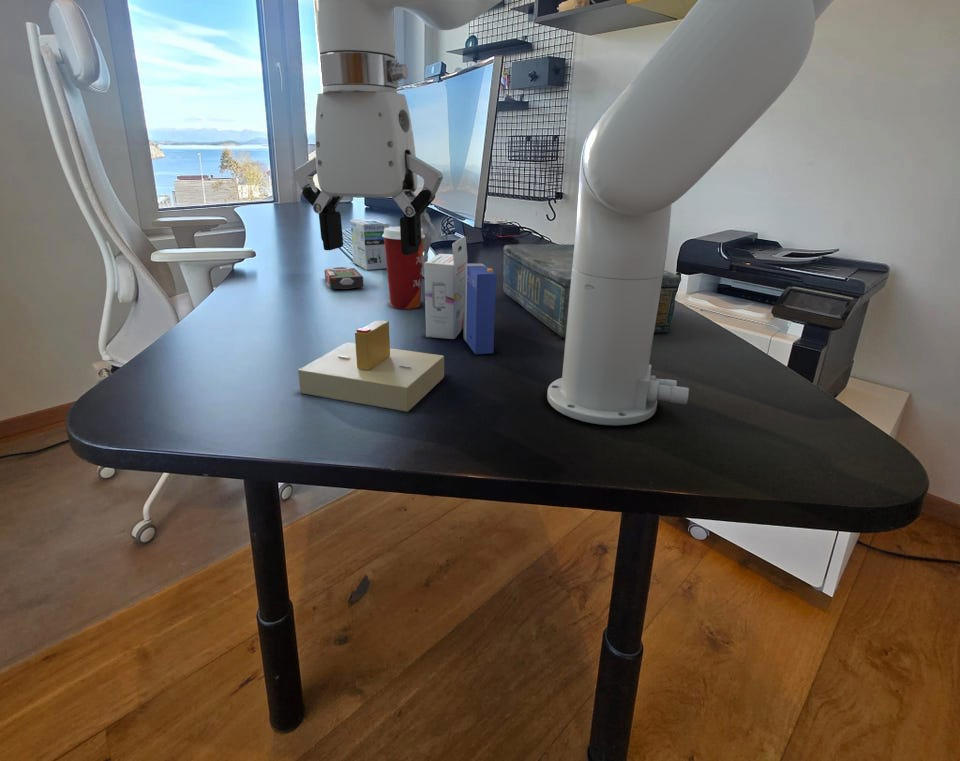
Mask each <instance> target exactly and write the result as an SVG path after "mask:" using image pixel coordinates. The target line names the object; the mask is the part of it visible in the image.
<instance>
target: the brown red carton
mask: <svg viewBox="0 0 960 761" xmlns="http://www.w3.org/2000/svg"><path fill="white" fill-rule="evenodd" d="M324 279H325V281H326V285H327V287H328V288H329V289H331V290H334V289H335V290H336V289H339V290H353V289H355V288H365V287H364V276H363V275H362V274H361V273H360V271H358V270H357V269H356V268H355V267H350V266H333V267H329V268H328V269H327V268H325V269H324Z"/></svg>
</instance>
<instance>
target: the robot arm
mask: <svg viewBox="0 0 960 761" xmlns="http://www.w3.org/2000/svg"><path fill="white" fill-rule="evenodd" d="M503 1H504V0H312V2H313V13H314V14H313V15H314V23H315V34H316V44H317V54H318V64H319V76H320V86H321V93H317V95H316V103H315V114H314V152H315V153H314V154H315V155H314V157H312V158H311V159H309V160H308V161H306V162H305V163H303V164H302V165H300V166H299V167H297V168H296V169H295V170H293V176H294V179H295V180H296V182H297V184H298V186H299V188H300V189H301V190H302V196H303V197H304V199H305V200H306V201H307V202H308V203H309V204H310V205H311V207H312V210H313V212H314V213H315V214H318V220H319V230H320V239H321V241H322V247H323V250H324V251H332V250H333V251H334V250H336V249H340V248H342V247H343V246H344V235H343V226H342V224H343V223H342V215H341V212H340V211H338V210H337V211H336V208H337V207H338V205H339V203H340V202H341V200H342V199H343V198H344V197H349V198H392V199H393V200H394V203H396V204H397V206H398V207H399V208H400V210H401V211H402V212H403V216H400V218H399V227H400V234H401V252H402V254H403V255H410V254H413V253H416V252H418V250H419V246H420V245H421V214H423V213H424V211H425V209H426V210H427V208H428V207H429V206H430V205H431V204H432V203H433V201H434V200H435V199H436V193H437V192H438V190H439V188H440V185H441V183H442V181H443V178H444V175H443V172H441V171H440V170H439V169H437V168H435V167H433V166H432V165H430V164H429V163H427V162H425V161H424V160H422V159H420V158H419V157H417V155H416V154H417V153H416V146H415V139H414V133H413V132H414V131H413V126H412V121H411V115H410V110H409V106H408V101H407V98H406V95H405V94H404V93H399V92H398V89H399V88H400V87H399V86H400V85H399V82H400V81H401V80H407V79H408V78H409V67H408V64H406V63H400V62H398V58H396V41H395V20H394V19H395V18H394V9H395V8H399V9H401V10H404V11H406V12H408V13H410V14H412V15H414V16H415V17H416V18H417V19H418V20H419V21H421V22H422V23H423V24H424V25H427V27H429V28H432V29H434V30H437V31H438V30H439V31H451V30H455V29H458V28H461V27H463V26H465V25H467V24H469V23H471V22H472V21H474V20H475V19H477V18H479V17H481V15H484V14H485V13H487V12H488V11H489V10H490V9H492V8H493V7H496V6H497V5H498V4H501V3H502V2H503ZM833 2H834V0H697V1H696V2H695V4H693V6H692V7H691V8H690V9H689V11H688V12H687V13H686V15H685V16H684V18H682V20H681V21H680V22H679V24H678V25H677V26H676V27H675V29H673V31H671V33H670V34H669V35H668V37H667V38H666V40H664V42H663V43H662V44H661V45H660V47H659V48H658V49H657V50H656V51H655V53H654V54H653V55H652V56H651V57H650V59H649V60H648V61H647V62H646V63H645V64H644V66H643V67H642V68H641V69H640V71H639V72H638V73H637V74H636V75H635V77H634V78H633V79H632V80H631V81H630V82H629V84H628V85H627V86H626V88H625V89H624V90H623V91H622V93H620V94H619V95H618V97H617V98H616V99H615V101H614V102H613V103H612V104H611V105H610V106H609V107H608V108H607V110H606V111H605V112H604V113H603V114H602V115H601V116H600V117H599V118H598V119H597V121H595V123H594V124H593V126H592V127H591V128H590V130H589V131H588V133H587V136H586V138H585V140H584V143H583V146H582V150H581V155H580V164H579V176H578V195H577V208H576V209H577V210H576V224H575V232H574V233H575V234H574V244H573V245H574V255H573V266H572V275H571V286H570V297H569V308H568V319H567V329H566V338H565V340H564V354H563V362H562V373H561V374H562V375H561V377H560V378H557V379H555V380H554V381H552V382H551V383H550V384H549V385H548V387H547V392H546V399H547V402H548V403H549V405H550V406H551V407H552V408H553V409H554V410H555V411H557V412H559V413H560V414H562V415H563V416H566V417H568V418H571V419H573V420H576V421H580V422H583V423H586V424H587V423H588V424H591V425H592V424H593V425H601V426H613V427H616V426H618V427H619V426H629V425H635V424H639V423H642V422H645V421H647V420H649V419H651V418H652V417H653V416H654V415H655V414H656V411H657V406H658V401H661V402H663V401H664V402H668V403H669V404H670V403H671V404H676V405H683V406H687V404H688V400H689V394H690V393H689V392H690V388H689V387H685V386H677V385H678V380H674V379H669V378H665V379H664V378H657V376H656V375H654V374H651V373H652V364H650V361H651V353H652V347H653V340H654V335H655V332H654V329H655V323H656V316H657V310H658V303H659V297H660V291H661V284H662V278H663V274H664V270H665V266H666V260H667V253H668V245H669V239H670V238H669V236H670V228H671V216H672V205H673V204H674V203H675V202H676V201H678V200H680V199H681V198H682V197H683V196H684V195H685V194H687V192H688V191H689V190H691V189H692V188H693V187H694V186H695V185H696V184H697V183H698V182H699V181H700V180H701V179H702V178H703V177H704V175H706V174H707V173H708V172H710V170H711V169H712V168H713V167H714V166H715V165H716V164H717V163H718V161H719V160H720V159H721V158H723V156H725V155H726V153H727V152H728V151H729V150H730V149H731V148H732V147H733V146H734V145H735V144H736V143H737V142H738V141H739V140H740V139H741V138H742V137H743V136H744V135H745V134H746V133H747V131H749V129H750V128H752V126H753V125H755V123H756V122H757V121H758V120H759V119H760V118H761V117H762V116H763V115H764V114H765V113H766V112H767V111H768V109H769V108H771V106H773V104H774V103H776V101H777V100H778V99H779V98H780V97H781V96H782V94H784V92H785V91H786V89H788V87H789V86H790V85H791V84H792V82H793V81H794V79H795V78H796V77H797V75H798V74H799V72H800V70H801V68H802V67H803V65H804V63H805V61H806V59H807V57H808V54H809V52H810V49H811V46H812V43H813V39H814V34H815V28H816V22H817V21H818V20H819V18H820V17H821V16H822V15H823V13H824V12H825V11H826V10H827V9H828V7H829V6H831V4H832V3H833ZM315 176H316V177H317V181H318V186H319V188H318V187H317V186H316V185H315V184H316V183H315V181H314V177H315ZM418 177H420V178H422V179H423V185H422V189H421V191H419V193H418V194H417V195H416V193H415V192H416V191H417V188H418ZM425 212H426V211H425Z"/></svg>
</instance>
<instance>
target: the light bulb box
mask: <svg viewBox="0 0 960 761" xmlns="http://www.w3.org/2000/svg"><path fill="white" fill-rule="evenodd" d="M349 222H350V234H351V235H350V237H351V249H352V263H353V264H355V265H356V266H359V267H360V268H362V269H364V270H366V271H368V270H369V271H370V270H371V271H372V270H384V269H387V265H386V254H385V243H384V237H382V235H383V234H384V229H385V228H388V227H391V226H390V223H387V222H383V221H380V220H376V219H375V218H374V219H373V218H371V219H369V218H368V219H350V220H349Z"/></svg>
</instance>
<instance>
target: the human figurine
mask: <svg viewBox="0 0 960 761" xmlns="http://www.w3.org/2000/svg"><path fill="white" fill-rule="evenodd" d="M428 225H429V226H430V228H431V229H432V231H433V233H434V234H435V235H436V239H437V240H440V241H441V240H443V238H442V237H441V236H442V234H440V233H439V232H438V230H437V228H436V226H435V225H434V224H433V223H432V219H431V217H430V214H429V213H428V212H427V208H426V209H425V211H424V213H423V214H421V228H422V229H423V234H424V235H425V237H424V238H423V262H422V268H424V263H425V262H427V261H428V259H429V251H430V247H431V244H432V236H431V233H430V232H429V230H428ZM422 278H424V279H425V275H424V271H422Z"/></svg>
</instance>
